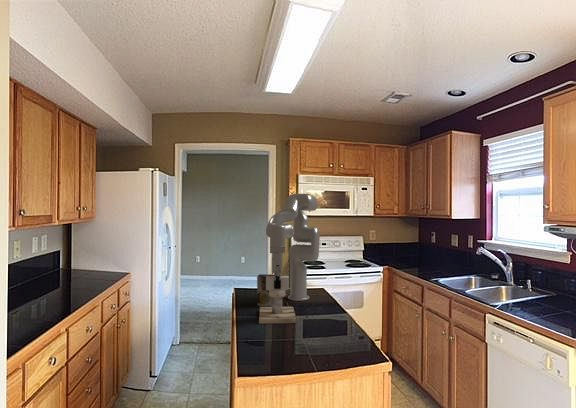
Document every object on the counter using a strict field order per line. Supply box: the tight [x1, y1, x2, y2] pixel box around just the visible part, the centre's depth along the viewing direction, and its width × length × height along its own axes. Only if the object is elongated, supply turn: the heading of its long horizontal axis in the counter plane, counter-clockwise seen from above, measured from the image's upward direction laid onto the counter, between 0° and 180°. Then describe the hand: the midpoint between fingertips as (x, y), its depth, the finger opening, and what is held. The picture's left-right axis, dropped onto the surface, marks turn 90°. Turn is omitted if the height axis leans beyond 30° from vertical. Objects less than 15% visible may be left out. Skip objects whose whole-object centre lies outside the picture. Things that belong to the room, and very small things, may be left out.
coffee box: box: [256, 273, 274, 307], centre depth 191 cm, size 9×6×16 cm
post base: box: [258, 297, 297, 325], centre depth 170 cm, size 20×17×10 cm
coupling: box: [266, 275, 290, 298], centre depth 169 cm, size 10×11×9 cm
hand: (277, 287), depth 170 cm, fingers closed on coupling, 4 cm apart
